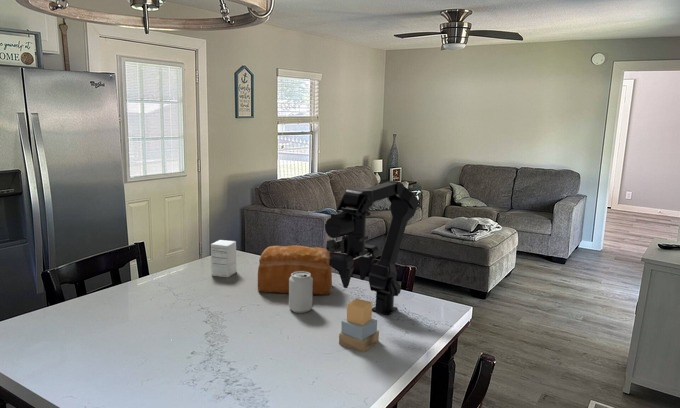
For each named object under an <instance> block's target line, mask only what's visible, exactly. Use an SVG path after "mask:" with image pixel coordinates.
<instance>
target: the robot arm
mask: <svg viewBox="0 0 680 408" xmlns="http://www.w3.org/2000/svg"><path fill="white" fill-rule="evenodd" d="M386 198H387V199H386ZM384 199H386V200H388V201H389V203H390V207H389V210H390V214H391V220H390V225H389V227H388V231H387V234H386V239H385V242H384V245H383V248H382V252H381V256H380V258H379V260H378V261H377V262H376V263H374V262H375V260H376V259H377V257H378V256H379V255H380V254H379V253H380V248H379V247H378V246H377V245H373V244H370V243H369V244H367V243H366V241H367V240H369V235H366V225H367V217H369V216H370V217H371V212H370V211H369V210H368V209H370V208H371V207H372V206H373V205H374V203H375V202H378V201H381V200H384ZM418 207H419V199H418V198H417V195H415V193H414V192H413V191H412V190H410V189H409V188H407V187H406V186H405V185H404V183H402V182H400V181H396V180H387V181H386V182H384V183H380V184H377V185H374V186H370V187H366V188H354V187H353V188H347V189H346V190H345V191H344V194H343V196H342V197H341V199H340V201H339V204H338V206H337V208H336V209H335V212H332V213H330V217H329V218H327V220H326V222H325V224H324V230H325V233H326V234H327V236H328V237H330V238H331V239H329V240H327V241H326V247H325V249H326V250H327V251H328V252H329V254H330V258H329V266H332V269H333V268H334V269H335V270H337V272H338V275H339V277H340V279H341V280H340V281H341V283H342V287H343V288H344V289H348V288H349V285H350V283H351V278H352V276H353V272H354V269H355V267H354V264H355V260H356V259H357V260H358V263H359V265H358V266H359V277H360V280H361V281H364V280H365V279H366V277H367V275H368V284H369V288H370V291H372V292H376V293H375V306H374V307H372V312H375V313H380V314H383V315H387V316H390V315H391V314H393V313H394V312H396V311H397V310H398V309H399V308H398V307H397V306H394V303H395V297H398V296H399V295H400V294H401V291H402V290H401V289H402V286H401V285H400V284H399V282H398V281H397V277H398V272H397V268H396V262H397V258H398V255H399V251H400V248H401V244H402V241H403V237H404V235H405V230H406V228H407V227H406V226H407V224H408V222H409V221H410V220H411V219H412V218H413V217H414V215H416V211H417V210H418V209H417V208H418ZM340 237H341V239H338V240H335V239H336V238H340ZM337 252H338V253H337ZM339 252H340V253H339ZM334 253H336V254H334ZM332 254H334V255H332Z"/></svg>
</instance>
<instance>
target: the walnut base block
mask: <svg viewBox="0 0 680 408" xmlns="http://www.w3.org/2000/svg"><path fill="white" fill-rule="evenodd" d="M379 335H380V330H378V329H377V332H376V333H374V334H372V335H371V336H369V337H367V338H366V339H364V340H359V339H356V338H354V337H351V336H348V335H345V334H343V333H341V332H339V333H338V344H339V345H340V346H344V347H347V348H349V349H353V350H356V351H359V352H363V353H365V352H366V351H368V349H370V348H372V347H373V346H374V345H376V344H377V343H378V342H379V341H380V340H379V339H380V337H379Z"/></svg>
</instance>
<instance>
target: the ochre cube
mask: <svg viewBox="0 0 680 408" xmlns="http://www.w3.org/2000/svg"><path fill="white" fill-rule="evenodd" d="M372 308H373V301H369V300H364V299H360V298H354V299H353V300H351V301H350V302H348V303H346V319H347V321H348V322H352V323H356V324H359V325H364V324H365V323H367V322H368V321H370V320H371V319H373V318H372V317H373V311H372Z"/></svg>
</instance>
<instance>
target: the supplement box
mask: <svg viewBox="0 0 680 408" xmlns="http://www.w3.org/2000/svg"><path fill="white" fill-rule="evenodd" d="M210 263H211V265H210V268H211V276H215V277H222V278H229V277H231V276H232V275H234V274H235V273H237V272H238V271H237V270H238V269H237V241H236V240H225V239H218V240H216V241H215V242H212V243H210Z"/></svg>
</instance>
